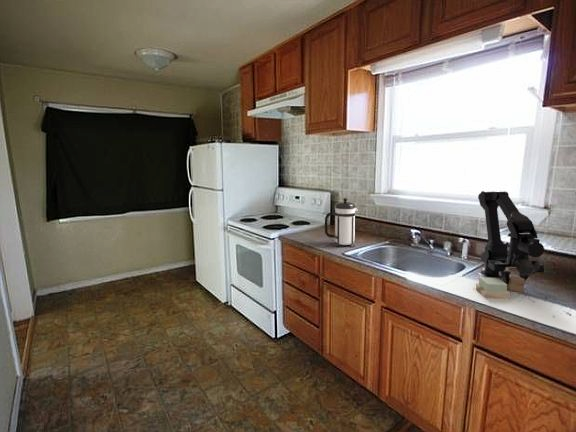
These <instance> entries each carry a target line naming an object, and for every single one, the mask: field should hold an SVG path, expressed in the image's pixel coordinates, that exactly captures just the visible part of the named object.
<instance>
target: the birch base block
mask: <svg viewBox="0 0 576 432" xmlns="http://www.w3.org/2000/svg"><path fill="white" fill-rule="evenodd" d="M475 290H476V291H477V292H479V294H480V295H482V296H483V297H484V298H486V299H504V300H506V299H507V300H509V299H510V297H511V294H510V293H511V291H509V290H507V292H490V291H486V290H485V289H484V288H482V287H481V286H480V285H479V282H478V283H475Z"/></svg>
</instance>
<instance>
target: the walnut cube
mask: <svg viewBox="0 0 576 432" xmlns="http://www.w3.org/2000/svg"><path fill="white" fill-rule="evenodd" d="M525 282H526V281H525V279H523V278H522V277H520V276H519V274H510V275H509V284H508V286H507V291H509V292H524V291H525V284H526V283H525Z"/></svg>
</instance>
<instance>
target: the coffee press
mask: <svg viewBox="0 0 576 432" xmlns="http://www.w3.org/2000/svg"><path fill="white" fill-rule="evenodd" d="M347 200H348V199H347V198H346V197H344V198H343V201H338V202H336V204H335V206H334V208H335V209H334V210H335V212H333V211H331V212H327V214H326V215H325V217H324V233H325V235H326V237H328V238H334V242H335V244H336V245H335V247H336V248H339V247H340V246H347V245H349V246H351V248H354V247H355V243H354V242H355V232H356V231H355V228H356V226H355V223H356V218H355V217H356V212H358V211H359V210H358V208H357V207H356V205H355V203H354V202H353V201H352V202H351V201H347ZM330 216H335V217H334V218H335V219H334V221H335V222H334V229H335V230H334V234H330V233H329V232H328V230H329V229H328V222H329V221H328V219H329V217H330Z"/></svg>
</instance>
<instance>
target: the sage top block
mask: <svg viewBox="0 0 576 432" xmlns="http://www.w3.org/2000/svg"><path fill="white" fill-rule="evenodd" d="M478 283H479V285H480V286H481V287H482V288H484V289H485V290H486V291H490V292H507V291H508V289H507V284H506V283H504V280H502V279H500V277H482V276H481V277H480V276H479V277H478Z"/></svg>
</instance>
